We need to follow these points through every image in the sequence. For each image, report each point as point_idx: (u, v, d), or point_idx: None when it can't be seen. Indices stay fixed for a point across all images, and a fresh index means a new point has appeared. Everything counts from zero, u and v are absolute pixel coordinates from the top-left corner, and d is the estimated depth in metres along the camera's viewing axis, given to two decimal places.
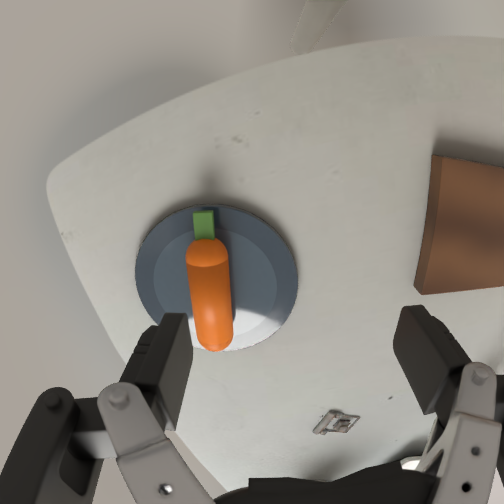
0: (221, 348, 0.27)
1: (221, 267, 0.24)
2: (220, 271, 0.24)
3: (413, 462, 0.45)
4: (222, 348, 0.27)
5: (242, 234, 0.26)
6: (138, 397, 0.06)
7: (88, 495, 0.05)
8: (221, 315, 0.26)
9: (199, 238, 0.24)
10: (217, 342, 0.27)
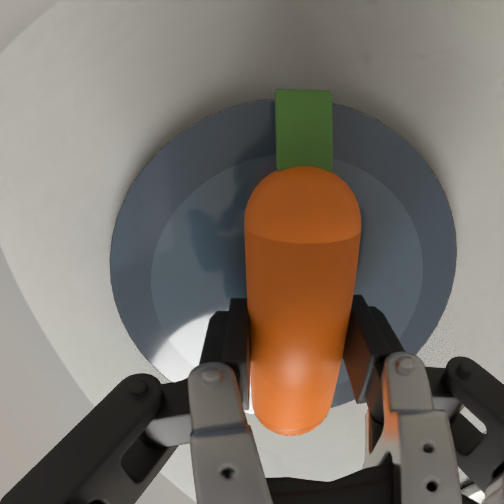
0: (310, 430, 0.11)
1: (354, 247, 0.08)
2: (351, 259, 0.08)
3: None
4: (311, 429, 0.11)
5: (374, 173, 0.10)
6: (231, 374, 0.07)
7: (143, 483, 0.06)
8: (330, 371, 0.10)
9: (291, 164, 0.08)
10: (307, 423, 0.11)
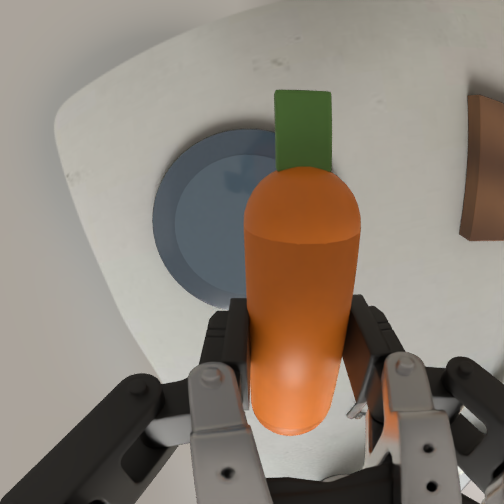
0: (309, 430, 0.11)
1: (353, 247, 0.08)
2: (350, 259, 0.08)
3: None
4: (310, 429, 0.11)
5: None
6: (231, 374, 0.07)
7: (143, 483, 0.06)
8: (329, 371, 0.10)
9: (291, 164, 0.08)
10: (307, 423, 0.11)
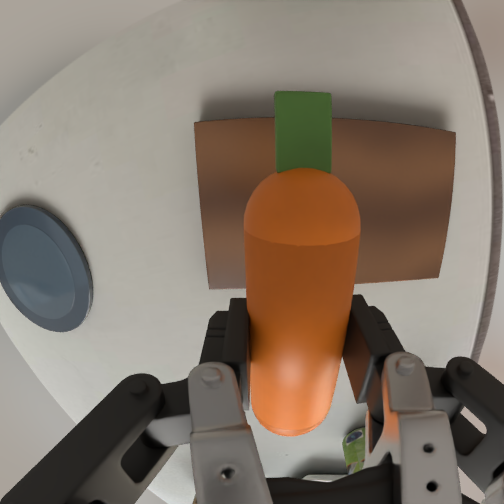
0: (309, 431, 0.11)
1: (353, 248, 0.08)
2: (350, 260, 0.08)
3: (326, 480, 0.43)
4: (310, 430, 0.11)
5: (39, 228, 0.25)
6: (231, 374, 0.07)
7: (143, 483, 0.06)
8: (329, 372, 0.10)
9: (291, 165, 0.08)
10: (307, 424, 0.11)
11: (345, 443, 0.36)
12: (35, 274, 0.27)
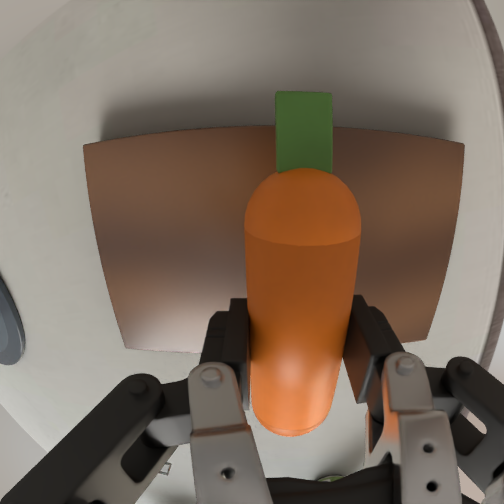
0: (309, 431, 0.11)
1: (353, 249, 0.08)
2: (351, 261, 0.08)
3: None
4: (311, 430, 0.11)
5: None
6: (231, 374, 0.07)
7: (143, 483, 0.06)
8: (330, 372, 0.10)
9: (291, 166, 0.08)
10: (307, 424, 0.11)
11: None
12: None
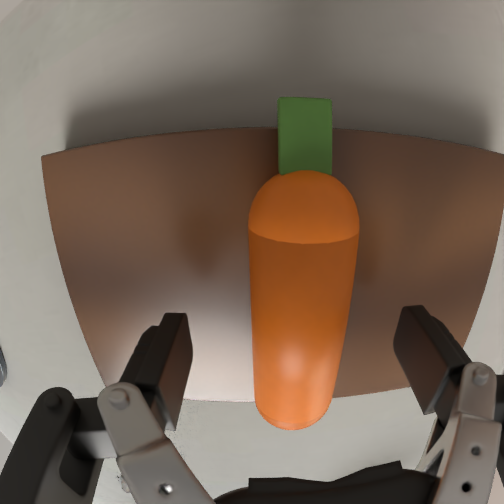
0: (311, 424, 0.12)
1: (353, 246, 0.09)
2: (351, 258, 0.09)
3: None
4: (313, 423, 0.12)
5: None
6: (138, 397, 0.06)
7: (87, 495, 0.05)
8: (331, 365, 0.10)
9: (293, 168, 0.09)
10: (309, 417, 0.11)
11: None
12: None
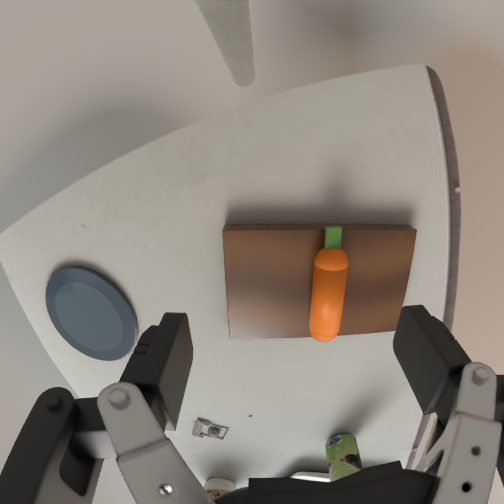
0: (333, 338, 0.32)
1: (346, 270, 0.30)
2: (345, 273, 0.30)
3: (313, 477, 0.53)
4: (333, 338, 0.33)
5: (94, 286, 0.36)
6: (138, 397, 0.06)
7: (87, 495, 0.05)
8: (340, 309, 0.31)
9: (329, 248, 0.30)
10: (333, 332, 0.32)
11: (327, 445, 0.46)
12: (87, 318, 0.38)
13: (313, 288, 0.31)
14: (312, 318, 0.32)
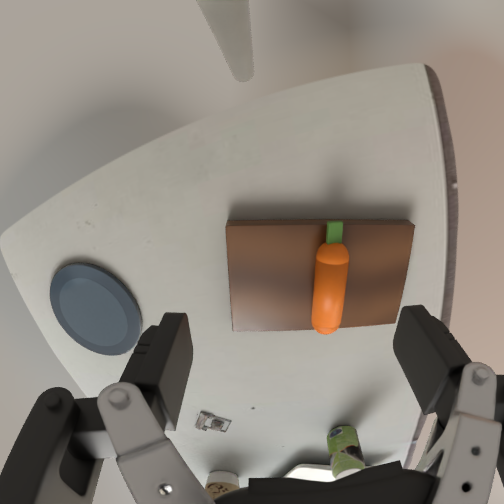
0: (335, 330, 0.34)
1: (347, 264, 0.31)
2: (347, 267, 0.31)
3: (315, 469, 0.55)
4: (335, 330, 0.34)
5: (98, 282, 0.37)
6: (138, 397, 0.06)
7: (88, 495, 0.05)
8: (342, 302, 0.32)
9: (331, 242, 0.30)
10: (335, 324, 0.33)
11: (328, 437, 0.48)
12: (92, 314, 0.39)
13: (315, 282, 0.32)
14: (315, 311, 0.33)
